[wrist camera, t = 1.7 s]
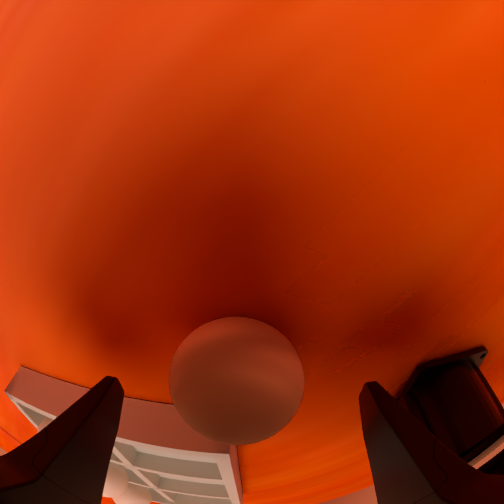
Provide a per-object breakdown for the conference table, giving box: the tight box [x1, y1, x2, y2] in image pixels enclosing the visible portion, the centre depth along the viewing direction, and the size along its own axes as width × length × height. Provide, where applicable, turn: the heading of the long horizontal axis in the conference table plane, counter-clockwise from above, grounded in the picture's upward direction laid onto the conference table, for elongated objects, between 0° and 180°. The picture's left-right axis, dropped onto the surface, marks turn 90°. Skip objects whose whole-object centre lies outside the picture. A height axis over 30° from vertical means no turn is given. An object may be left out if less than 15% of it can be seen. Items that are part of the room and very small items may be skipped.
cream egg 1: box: [102, 462, 129, 497], centre depth 15 cm, size 5×5×5 cm
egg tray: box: [5, 366, 243, 504], centre depth 17 cm, size 17×22×3 cm
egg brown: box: [169, 317, 305, 445], centre depth 9 cm, size 5×5×5 cm
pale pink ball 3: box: [112, 483, 151, 504], centre depth 18 cm, size 5×5×5 cm
